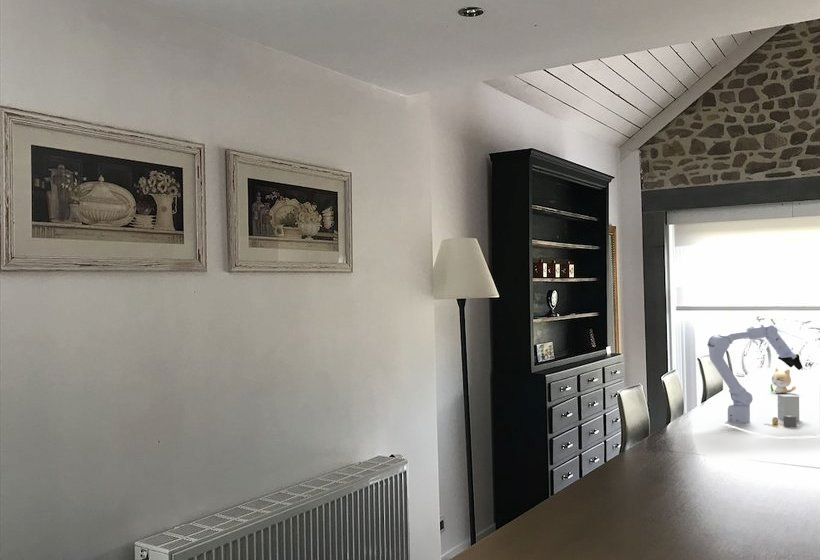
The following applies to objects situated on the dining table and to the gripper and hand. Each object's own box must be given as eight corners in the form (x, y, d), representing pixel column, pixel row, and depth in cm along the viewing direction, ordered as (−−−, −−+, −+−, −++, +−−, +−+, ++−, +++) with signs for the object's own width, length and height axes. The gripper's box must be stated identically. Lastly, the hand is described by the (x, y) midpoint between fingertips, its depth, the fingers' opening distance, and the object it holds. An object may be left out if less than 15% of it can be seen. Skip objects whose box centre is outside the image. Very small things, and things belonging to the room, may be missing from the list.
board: (776, 430, 348) (776, 427, 348) (763, 426, 358) (763, 423, 358) (802, 429, 351) (802, 426, 351) (788, 424, 361) (788, 422, 361)
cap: (788, 427, 350) (788, 417, 350) (781, 425, 355) (781, 415, 355) (799, 426, 351) (798, 417, 351) (791, 424, 356) (791, 415, 356)
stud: (774, 425, 355) (774, 417, 355) (771, 424, 358) (771, 416, 358) (779, 424, 356) (779, 417, 356) (775, 423, 358) (775, 416, 358)
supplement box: (799, 422, 366) (799, 396, 366) (784, 422, 366) (784, 396, 366) (792, 419, 374) (792, 394, 374) (777, 419, 374) (777, 394, 374)
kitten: (764, 392, 466) (764, 367, 466) (778, 391, 469) (777, 366, 469) (783, 395, 452) (783, 370, 452) (797, 394, 455) (796, 369, 455)
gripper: (793, 342, 360) (811, 364, 360) (778, 338, 374) (795, 359, 375) (782, 351, 360) (799, 373, 361) (767, 347, 374) (783, 368, 375)
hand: (796, 367), depth 368 cm, fingers open, 7 cm apart
